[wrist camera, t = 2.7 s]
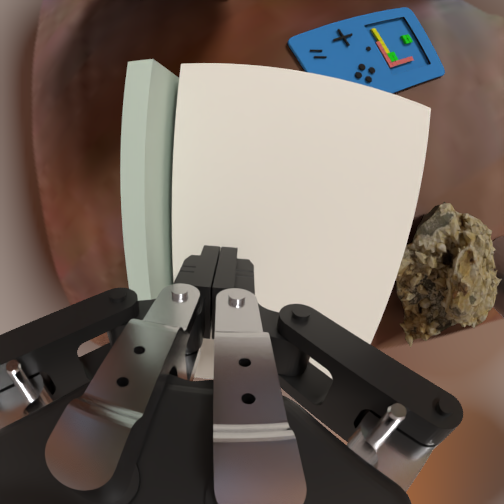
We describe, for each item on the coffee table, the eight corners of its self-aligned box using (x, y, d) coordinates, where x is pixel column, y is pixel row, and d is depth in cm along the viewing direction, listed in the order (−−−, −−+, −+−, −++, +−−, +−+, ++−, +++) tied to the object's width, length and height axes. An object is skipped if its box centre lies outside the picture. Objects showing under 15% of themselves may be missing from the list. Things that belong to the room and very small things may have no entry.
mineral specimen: (355, 237, 26) (402, 289, 17) (448, 176, 23) (513, 201, 14) (395, 327, 31) (428, 382, 22) (469, 274, 28) (513, 314, 19)
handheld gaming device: (286, 38, 18) (410, 5, 15) (284, 42, 19) (405, 8, 16) (334, 118, 21) (448, 73, 18) (331, 118, 22) (442, 75, 19)
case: (351, 115, 21) (430, 108, 10) (320, 293, 28) (353, 380, 17) (214, 97, 21) (181, 63, 10) (204, 285, 28) (181, 375, 17)
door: (207, 100, 20) (153, 58, 7) (199, 287, 27) (168, 400, 14) (180, 100, 20) (98, 66, 7) (176, 284, 27) (133, 393, 14)
